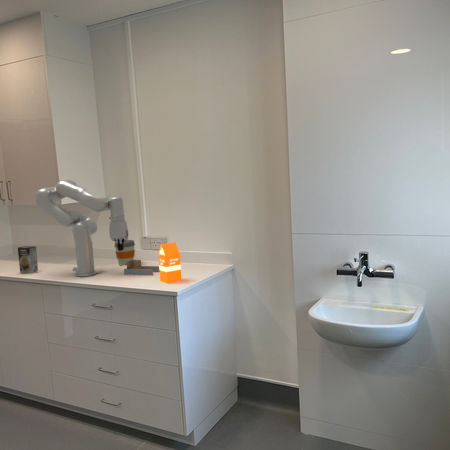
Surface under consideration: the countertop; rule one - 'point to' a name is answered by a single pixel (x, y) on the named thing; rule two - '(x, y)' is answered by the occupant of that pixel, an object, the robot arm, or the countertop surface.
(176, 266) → the orange juice
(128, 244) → the reusable coffee cup
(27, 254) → the coffee box
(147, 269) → the chute
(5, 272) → the countertop surface
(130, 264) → the block
